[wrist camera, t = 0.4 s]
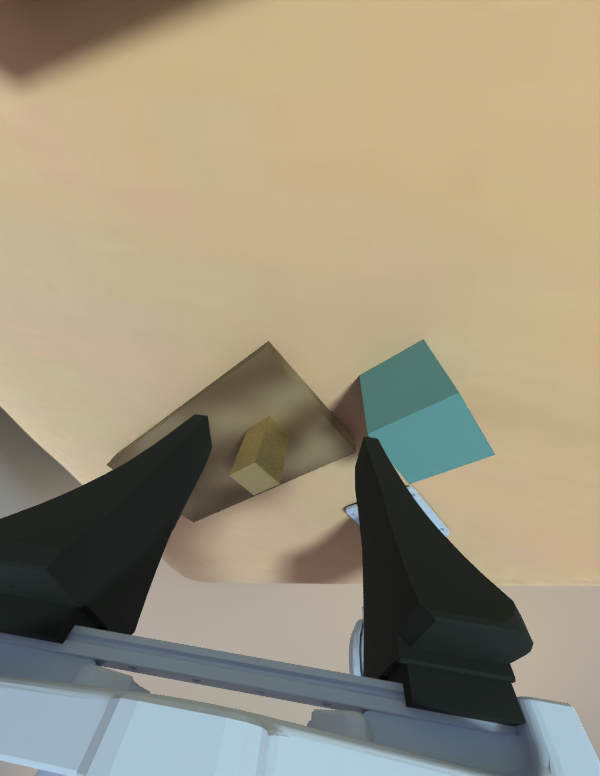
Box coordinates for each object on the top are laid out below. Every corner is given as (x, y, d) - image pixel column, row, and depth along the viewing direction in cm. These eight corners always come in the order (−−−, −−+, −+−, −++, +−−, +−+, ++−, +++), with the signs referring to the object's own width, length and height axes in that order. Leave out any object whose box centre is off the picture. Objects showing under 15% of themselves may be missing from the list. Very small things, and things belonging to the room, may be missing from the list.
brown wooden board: (355, 439, 25) (356, 451, 24) (198, 510, 34) (193, 522, 33) (268, 341, 20) (264, 349, 19) (116, 454, 30) (106, 465, 29)
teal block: (453, 390, 21) (495, 454, 16) (392, 418, 23) (409, 484, 18) (423, 339, 19) (458, 392, 14) (359, 375, 21) (367, 434, 16)
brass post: (289, 435, 23) (279, 483, 19) (267, 446, 25) (253, 495, 20) (269, 415, 22) (254, 462, 18) (247, 428, 24) (229, 475, 19)
